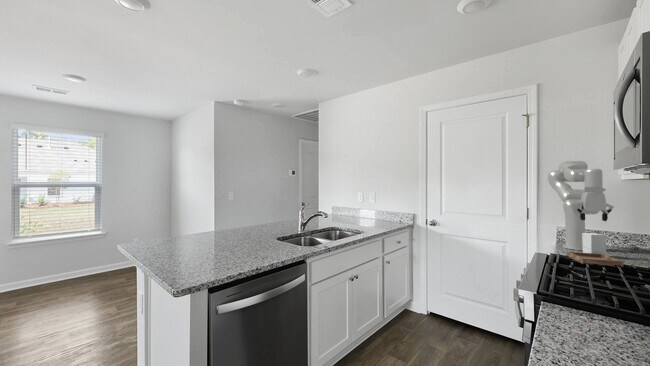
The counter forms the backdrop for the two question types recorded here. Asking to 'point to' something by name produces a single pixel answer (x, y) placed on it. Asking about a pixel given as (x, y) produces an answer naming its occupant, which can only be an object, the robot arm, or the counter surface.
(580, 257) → the walnut tray
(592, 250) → the supplement box
